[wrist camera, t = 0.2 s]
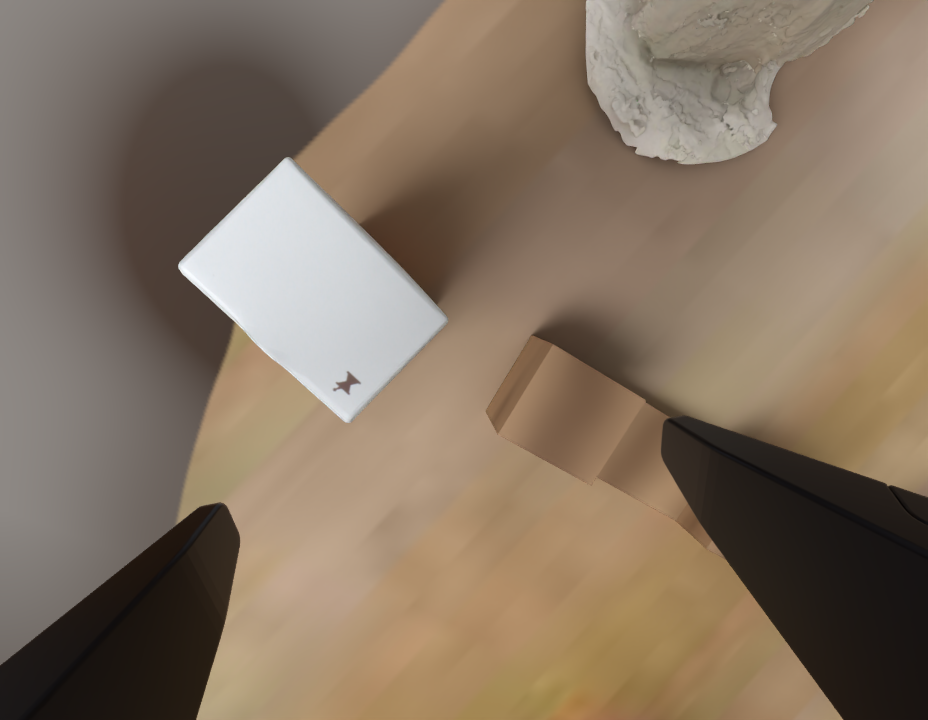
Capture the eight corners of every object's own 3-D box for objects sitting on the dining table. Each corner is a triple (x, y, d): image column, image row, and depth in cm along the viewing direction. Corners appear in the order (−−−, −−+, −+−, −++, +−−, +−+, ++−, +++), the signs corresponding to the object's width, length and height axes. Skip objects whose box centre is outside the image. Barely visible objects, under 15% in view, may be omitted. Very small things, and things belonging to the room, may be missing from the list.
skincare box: (438, 306, 24) (457, 324, 12) (382, 361, 24) (346, 433, 12) (355, 220, 23) (285, 147, 11) (296, 279, 23) (165, 270, 11)
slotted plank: (777, 483, 28) (836, 515, 24) (732, 548, 28) (783, 590, 24) (531, 335, 24) (553, 344, 20) (485, 411, 25) (497, 434, 21)
